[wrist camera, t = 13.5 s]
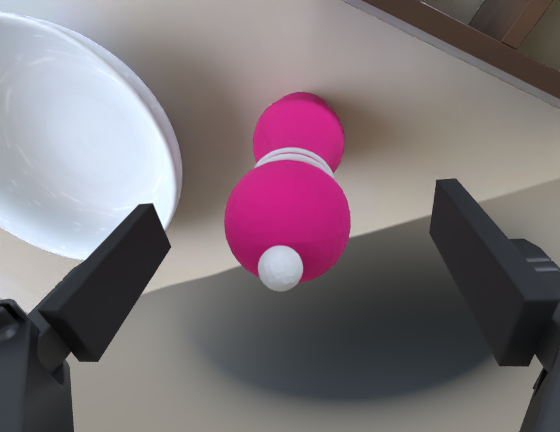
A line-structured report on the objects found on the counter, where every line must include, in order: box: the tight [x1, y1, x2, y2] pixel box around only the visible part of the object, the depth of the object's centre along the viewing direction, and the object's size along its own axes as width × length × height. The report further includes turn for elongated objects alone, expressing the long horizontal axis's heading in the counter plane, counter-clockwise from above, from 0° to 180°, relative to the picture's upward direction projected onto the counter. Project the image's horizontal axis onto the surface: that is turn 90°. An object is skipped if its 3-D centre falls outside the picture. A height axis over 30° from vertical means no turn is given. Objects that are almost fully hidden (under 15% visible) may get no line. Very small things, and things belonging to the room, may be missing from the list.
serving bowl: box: [0, 11, 183, 261], centre depth 28 cm, size 21×21×7 cm
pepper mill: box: [224, 92, 351, 291], centre depth 20 cm, size 7×7×20 cm
